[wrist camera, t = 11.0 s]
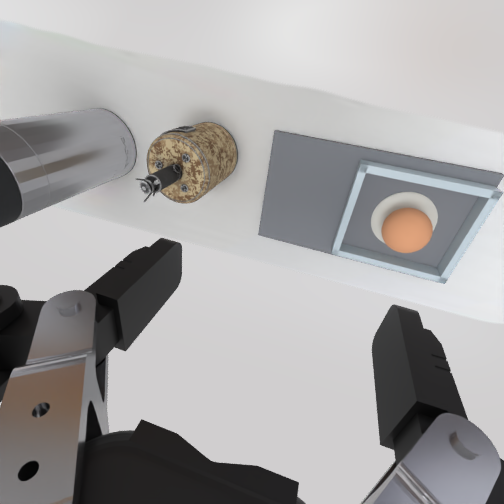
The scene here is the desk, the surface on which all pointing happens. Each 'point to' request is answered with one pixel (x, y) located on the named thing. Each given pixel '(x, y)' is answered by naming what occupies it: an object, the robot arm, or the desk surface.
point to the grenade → (189, 162)
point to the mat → (371, 194)
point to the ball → (407, 230)
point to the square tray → (418, 201)
